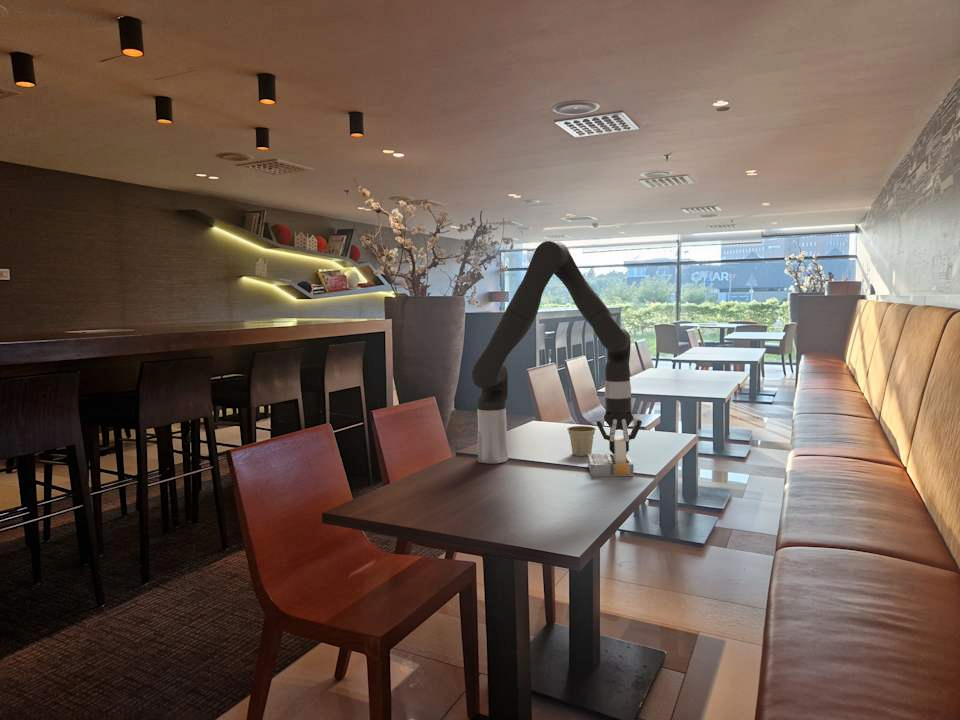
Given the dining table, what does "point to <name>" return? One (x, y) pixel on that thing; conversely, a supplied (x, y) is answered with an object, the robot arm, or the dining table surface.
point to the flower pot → (581, 439)
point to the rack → (609, 466)
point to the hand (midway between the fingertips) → (619, 452)
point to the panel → (619, 449)
